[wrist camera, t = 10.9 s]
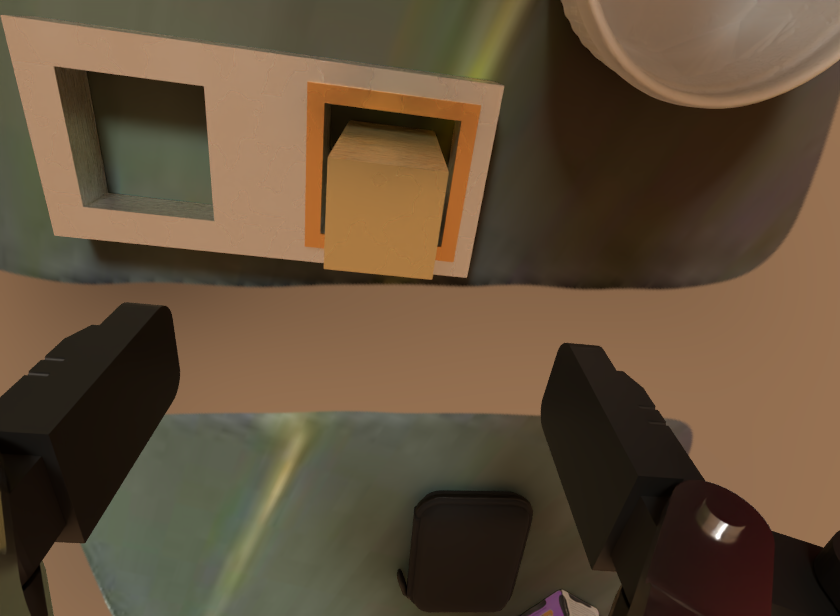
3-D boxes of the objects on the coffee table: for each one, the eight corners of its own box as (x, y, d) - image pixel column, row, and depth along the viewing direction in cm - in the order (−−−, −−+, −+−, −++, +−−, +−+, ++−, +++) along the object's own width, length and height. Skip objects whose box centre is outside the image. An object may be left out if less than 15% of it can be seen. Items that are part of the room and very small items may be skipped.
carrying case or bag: (402, 479, 40) (395, 587, 47) (402, 511, 37) (394, 621, 44) (532, 481, 40) (505, 587, 47) (541, 513, 38) (511, 620, 45)
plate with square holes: (38, 16, 23) (-3, 14, 21) (495, 81, 25) (505, 86, 23) (81, 219, 28) (52, 236, 25) (462, 260, 30) (467, 279, 28)
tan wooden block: (349, 119, 26) (327, 157, 18) (434, 130, 26) (448, 172, 18) (345, 202, 28) (323, 269, 20) (423, 211, 28) (432, 279, 20)
